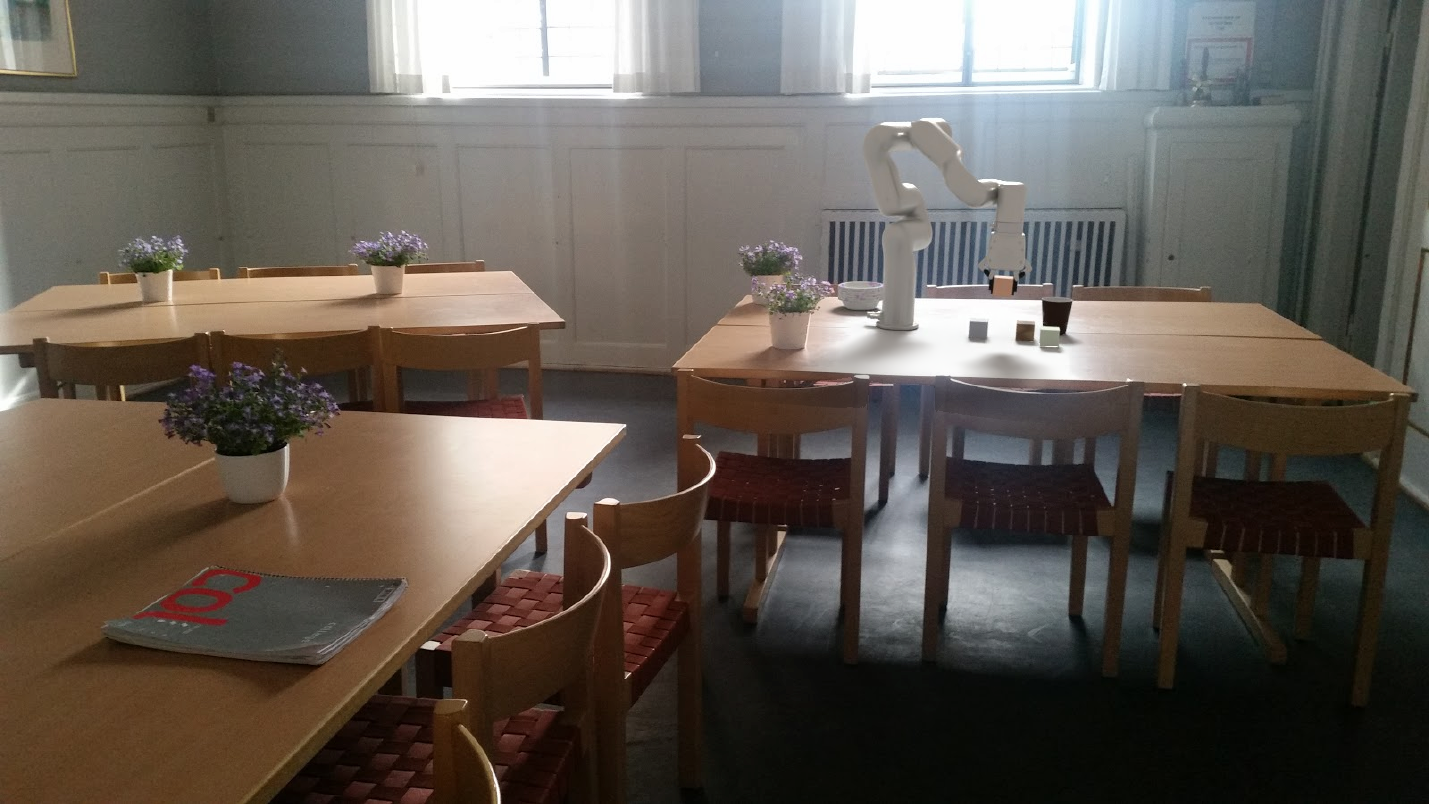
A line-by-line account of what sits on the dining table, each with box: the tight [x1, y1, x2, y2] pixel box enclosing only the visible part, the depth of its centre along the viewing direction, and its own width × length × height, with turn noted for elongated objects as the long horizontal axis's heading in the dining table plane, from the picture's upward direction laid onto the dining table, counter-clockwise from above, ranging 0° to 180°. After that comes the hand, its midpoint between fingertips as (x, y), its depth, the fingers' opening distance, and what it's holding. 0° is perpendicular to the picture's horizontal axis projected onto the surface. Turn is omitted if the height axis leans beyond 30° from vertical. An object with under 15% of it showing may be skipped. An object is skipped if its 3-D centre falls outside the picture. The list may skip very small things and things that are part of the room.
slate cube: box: [968, 317, 989, 340], centre depth 319 cm, size 5×5×5 cm
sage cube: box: [1039, 325, 1061, 348], centre depth 308 cm, size 5×5×5 cm
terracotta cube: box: [992, 274, 1014, 298], centre depth 308 cm, size 5×5×5 cm
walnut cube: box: [1015, 319, 1036, 342], centre depth 316 cm, size 5×5×5 cm
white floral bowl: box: [837, 281, 883, 311], centre depth 362 cm, size 15×15×8 cm
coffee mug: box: [1041, 296, 1074, 336], centre depth 325 cm, size 12×9×10 cm
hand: (1002, 293), depth 308 cm, fingers closed on terracotta cube, 5 cm apart
